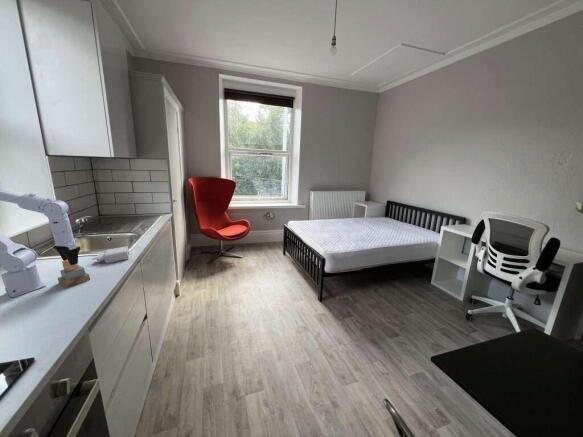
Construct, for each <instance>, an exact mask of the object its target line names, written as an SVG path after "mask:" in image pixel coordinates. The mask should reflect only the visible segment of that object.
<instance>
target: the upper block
mask: <svg viewBox="0 0 583 437" xmlns="http://www.w3.org/2000/svg"><path fill="white" fill-rule="evenodd" d="M78 267H79V268H78V269H77V270H74V271H71V272H65V271H64V268H63V269H61V270H59V272H60V276H62V277H63V278H64V279H66V280H71V279H74V278H77V277H80V276H82V275H85V274H86V273H87V272H86V270H85V267H83V266H81V265H79V264H78ZM85 272H86V273H85Z"/></svg>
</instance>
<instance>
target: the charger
mask: <svg viewBox="0 0 583 437" xmlns="http://www.w3.org/2000/svg"><path fill="white" fill-rule="evenodd" d="M129 259H130V251H129V246H122V247H115V248H110V249H106V250H105V251H104V254H103V253H102V254H98V255H96V257H95V256H94V257H92V258H91V261H95V260H96V261H97V262H100V261H104V263H106V264H110V263H115V262H120V261H121V262H122V261H126V260H129Z"/></svg>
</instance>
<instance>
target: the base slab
mask: <svg viewBox="0 0 583 437" xmlns="http://www.w3.org/2000/svg"><path fill="white" fill-rule="evenodd" d="M85 273H86V274H85V275H82V276H80V277H77V278H74V279H71V280H66V279H64V278H63V277H62V275H60V277H59V276H58V277H57V281H58V284H60V286H62V287H64V288H65V289H68V288H71V287H73V286H77V285H80V284H82V283H85V282H89V281H91V278H90V274H89V273H88V272H86V271H85Z"/></svg>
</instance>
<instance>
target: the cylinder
mask: <svg viewBox="0 0 583 437" xmlns="http://www.w3.org/2000/svg"><path fill="white" fill-rule="evenodd" d="M61 263H62V267H63V269H64V271H65V272H71V271H74V270H77V269H78V268H79V267H78V265H79V263H78V264H75V265H70V263H69V261H68V259H67V260H64V261H63V260H62V261H61Z"/></svg>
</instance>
